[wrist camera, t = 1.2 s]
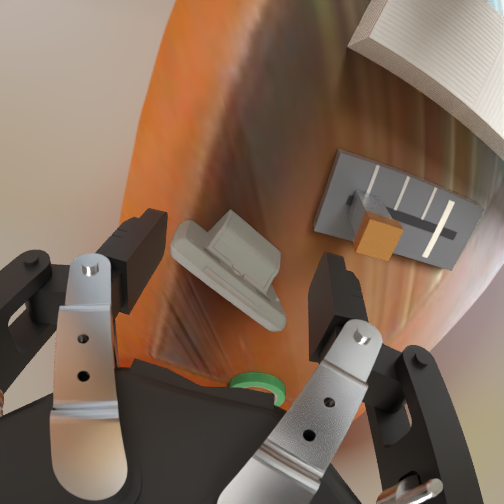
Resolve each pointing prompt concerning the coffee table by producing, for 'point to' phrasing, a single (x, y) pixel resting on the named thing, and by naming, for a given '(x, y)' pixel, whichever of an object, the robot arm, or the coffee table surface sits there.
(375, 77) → the coffee table surface
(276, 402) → the tape roll
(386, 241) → the fader
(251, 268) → the digital clock
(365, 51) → the stack of papers
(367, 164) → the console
